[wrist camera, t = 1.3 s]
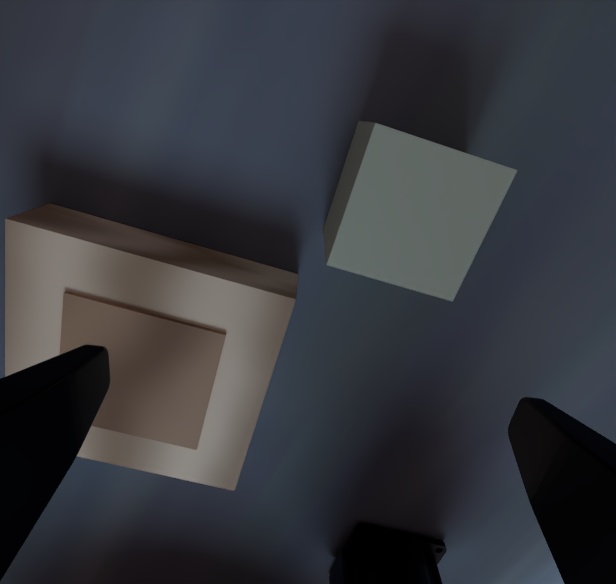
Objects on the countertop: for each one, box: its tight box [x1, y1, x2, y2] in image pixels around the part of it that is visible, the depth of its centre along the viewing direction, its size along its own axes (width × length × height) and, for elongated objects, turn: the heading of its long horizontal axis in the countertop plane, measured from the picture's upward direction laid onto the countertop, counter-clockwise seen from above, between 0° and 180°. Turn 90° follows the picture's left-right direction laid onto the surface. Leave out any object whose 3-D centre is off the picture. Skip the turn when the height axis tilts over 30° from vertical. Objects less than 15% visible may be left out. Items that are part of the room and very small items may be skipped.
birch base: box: [5, 203, 298, 491], centre depth 20 cm, size 12×12×3 cm
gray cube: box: [323, 121, 517, 302], centre depth 16 cm, size 5×5×5 cm
